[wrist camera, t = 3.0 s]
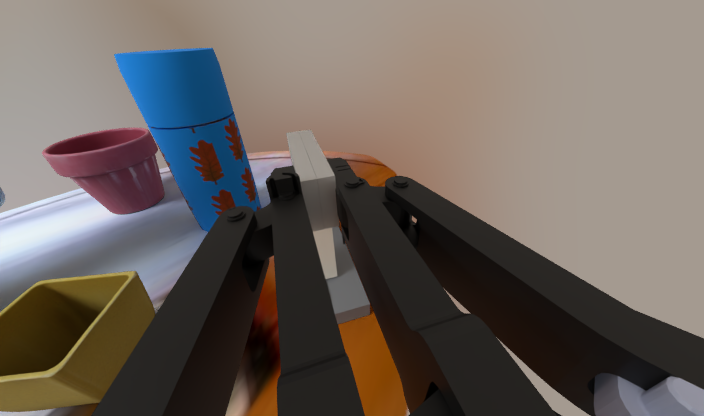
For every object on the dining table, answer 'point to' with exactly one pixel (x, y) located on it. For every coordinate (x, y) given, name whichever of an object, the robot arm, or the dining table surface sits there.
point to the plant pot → (111, 167)
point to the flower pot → (69, 339)
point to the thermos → (193, 127)
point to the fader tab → (326, 251)
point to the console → (346, 285)
